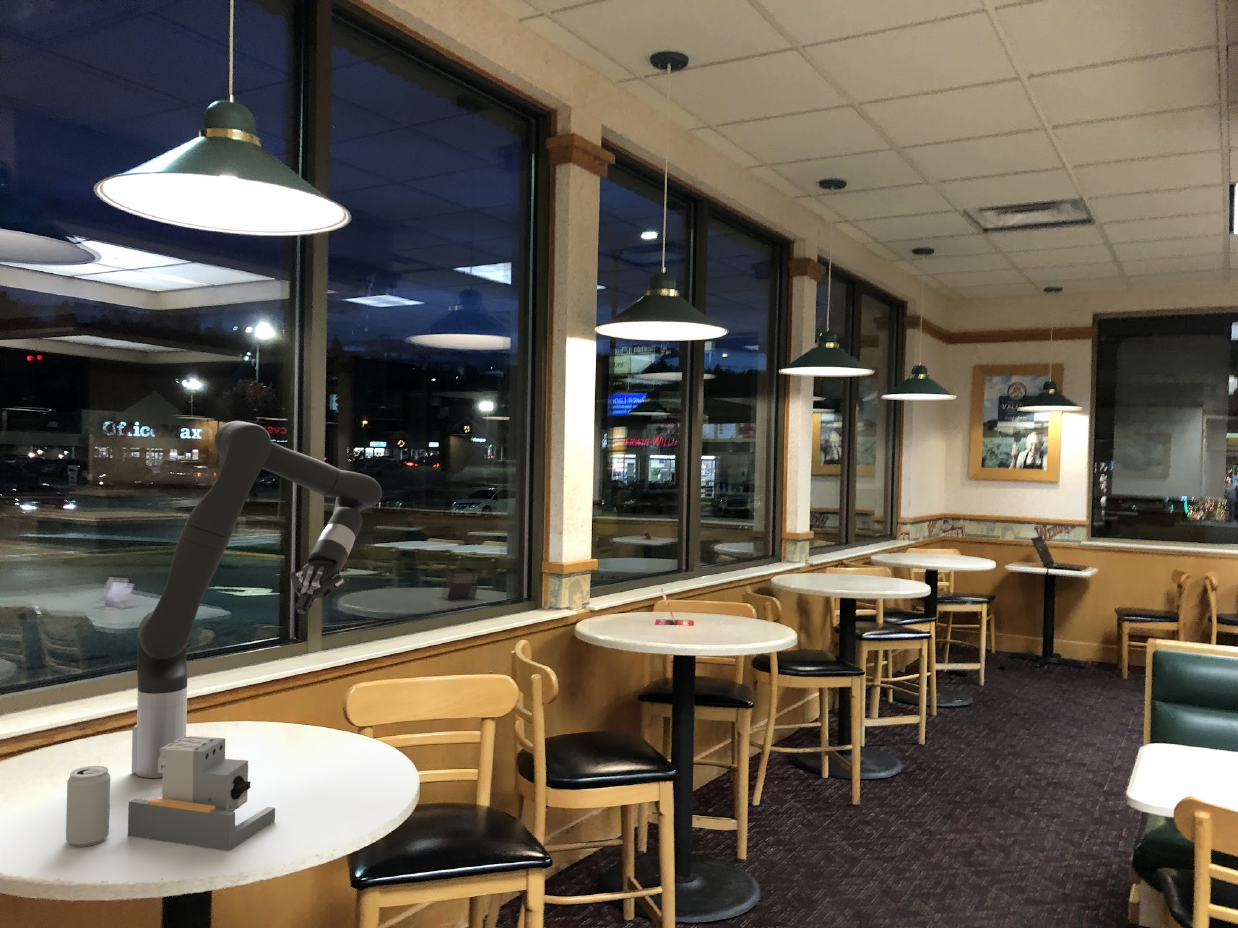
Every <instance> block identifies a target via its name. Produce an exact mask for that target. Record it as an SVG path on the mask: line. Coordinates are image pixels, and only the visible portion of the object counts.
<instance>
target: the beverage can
mask: <svg viewBox="0 0 1238 928" xmlns="http://www.w3.org/2000/svg"><path fill="white" fill-rule="evenodd" d="M69 776H70V777H69V778H68V779H67V780H66V783H67V784H66V813H65V814H66V815H65V816H66V819H65V820H66V822H65V823H66V825H65V841H66V843H67V844H70V845H71V846H73V847H82V848H83V847H84V848H85V847H90V845H91V846H95V845H98V844H99V843H101V842H104V841H105V838H107V837H108V836H109V834H110V805H111V804H110V802H111V801H110V798H111V775H110V773H109V768H108V767H106V766H103V765H89V766H83V767H78V768H76V769H74V770H72V771H71V772H70V773H69Z"/></svg>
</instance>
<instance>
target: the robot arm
mask: <svg viewBox="0 0 1238 928" xmlns="http://www.w3.org/2000/svg"><path fill="white" fill-rule="evenodd" d="M213 441H214V443H213V444H214V447H215V450H216V451H217V454H218V455H220V457H221V458H222V459H224V461H223V464H222V466H221V469H220V472H219V474H218V476H217V479H216V480H215V482H214V483H213V485H212V486H211V488H210V489H209V490H208V492H206V494H205V495H204V496H203V497H202V499H201V500H199V502H198V503H197V504H196V505H195V506H194V508H193V510H192V511H191V512H190V513H189V515H188V517H187V519H186V521H185V524H184V526H183V528H182V531H181V533H180V535H179V538H178V540H177V543H176V546H175V550H174V553H173V556H172V560H171V564H170V568H169V569H170V570H169V573H168V577H167V581H166V582H167V583H166V585H165V588H164V590H163V593H162V594H161V597H160V599H159V601H158V602H157V605H156V607H155V609H154V610H152V611H150V612H149V613H147V614H146V615H145V616H144V617H143V618H142V619H141V621H140V623H139V625H138V629H137V660H136V661H137V664H136V665H137V667H136V668H137V669H136V672H137V673H136V674H137V675H136V676H137V707H136V708H137V710H136V711H137V716H136V724H135V725H133V727H132V734H131V736H132V738H131V740H132V741H131V773H132V774H135V775H137V776H139V777H141V778H148V779H156V778H157V779H158V778H163V773H158V758H159V757H160V752H161V751H159V750H160V748H162V747H164V746H166V745H168V744H170V743H173V741H175V740H177V739H179V738H181V737H183V736H185V737H187V721H188V720H187V717H188V715H187V714H188V713H187V710H188V667H187V666H188V663H187V645H188V643H189V640H190V637H191V634H192V631H193V627H194V623H195V620H196V616H197V615H198V614H197V613H198V611H199V607H200V605H201V601H202V599H203V598H204V597H203V596H204V595H205V593H206V590H207V588H208V586H209V584H210V583H211V581H212V579H213V576H214V575H215V573H216V571H217V569H218V567H219V564H220V562H221V560H222V558H223V556H224V554H225V551H226V549H227V547H228V545H229V542H230V541H231V537H232V535H233V533H234V529H235V527H236V525H237V521H238V519H239V517H240V515H241V512H242V510H243V508H244V505H245V503H246V500H247V498H248V494H249V493H250V492H251V489H252V487H253V485H254V483H255V482H256V479H257V478H258V476H259V474H260V473H261V471H262V470H265V471H267V472H270V473H273V474H275V475H277V476H280V477H281V478H284V479H286V480H289V481H290V482H292V483H294V484H295V485H299V486H300V487H303V488H305V489H308V490H310V491H312V492H314V493H317V494H319V495H321V496H324V497H325V498H335V502H334V506H333V514H332V515H331V517H330V518H329V520H328V522H327V524H326V527H325V528H324V529H323V531H322V532H321V534H320V535H319V537H318V539H317V541H316V543H315V545H314V546H313V549H312V550H311V552H310V555H309V556H308V560H307V563H306V564H305V565H304V566H303V567H302V570H300V571H298V572H296V571H292V572H290V573H289V576H290V579H291V583H292V585H293V588H294V591H295V592H296V594H297V596H298V599H297V601H296V603H295V610H296V611H297V613H298V614H302V615H305V614H307V613H308V612H310V610H311V608H312V606H313V604H314V602H315V601H316V600H318V599H321V600H323V599H325V598H327V597H329V596H330V595H332V594H333V593H334V592H336V591H337V590H339V589H340V588H341V587H343V586H344V585H345V584H346V583H345V580H344V578H343V577H342V575H341V574H340V572H341V571H342V569H343V567H344V565H345V564H346V561H347V559H348V557H349V555H350V554H351V553H350V552H351V551H352V549H353V546H354V542H355V540H356V539H357V536H358V535H359V532H360V530H361V527H362V525H363V521H364V519H363V516H362V515H361V512H362V511H363V510H366V509H369V508H371V507H373V506H375V505H376V504H378V503H379V502H380V501H381V499H382V497H383V489H382V487H381V485H380V484H379V482H378V481H377V480H376V479H375V478H374V477H371V476H369V475H366V474H363V473H358V472H354V471H350V470H349V471H348V470H343V469H340V468H338V467H336V466H333V465H331V464H330V463H326V462H324V461H322V460H319V459H317V458H315V457H311V456H309V455H306V454H304V453H300V452H298V451H296V450H292V449H290V448H287V447H286V446H285V447H284V446H282V445H280V444H278V443H276V442H273V441H272V439H271V436H270V434H269V431H268V430H266V428H264V427H263V426H262V425H258V424H256V423H252V422H248V421H247V422H246V421H243V420H242V421H241V420H233V421H230V422H229V421H228V422H227V423H223V425H221V426H220V427H218V430H217V431H216V433H215V435H214V440H213ZM303 579H304V580H303ZM302 584H303V585H302ZM164 767H165V765H162V766H161V769H162V768H164Z"/></svg>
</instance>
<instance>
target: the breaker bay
mask: <svg viewBox="0 0 1238 928" xmlns="http://www.w3.org/2000/svg"><path fill="white" fill-rule="evenodd" d="M127 808H128V810H127V812H128V813H127V817H128V818H127V819H128V820H127V821H128V822H127V837H132V838H139V839H143V840H144V839H145V840H152V841H159V842H165V843H166V842H167V843H173V844H180V845H185V846H186V845H187V846H193V847H199V848H206V849H213V850H220V851H228V852H230V851H231V850H233V849H235V848H236V847H238V846H239V845H241V844H242V843H243V842H245V841H247V840H248V839H251V838H252V837H253V836H255V835H256V834H258V833H259V832H261V831H262V830H264V829H266V828H267V827H268V826H270V825H272V824H274V823H275V822H276V807H272V806H266V807H265V808H264V809H261V810H260V811H258V812H256V813H255V814H254V815H252V816H250V817H248V818H247V819H245V820H244V821H243V822H241V823H239V824H237V825H236V811H234V812H230V811H223V810H216V809H215V806H213V805H206V804H198V803H191V802H184V801H176V800H169V799H162V797H153V798H151V799H143V798H133V799H131V800H129V801H128V807H127ZM274 821H275V822H274ZM271 823H272V824H271Z"/></svg>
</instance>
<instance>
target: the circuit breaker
mask: <svg viewBox="0 0 1238 928" xmlns="http://www.w3.org/2000/svg"><path fill="white" fill-rule="evenodd" d="M159 751H161V752H160V757H159V758H158V773H163V777H162V788H161V789H162V792H161V799H169V800H176V801H184V802H191V803H198V804H206V805H213V806H215V809H216V810H223V811H230V812H236V810H238V809H239V808H241V807H242V806H243V805H245V803H247V802H248V790H249V789H251V783H252V781H249V760H244V759H231V758H226V738H225V737H224V738H223V737H212V736H211V737H210V736H192V735H189V736H186V737H185V736H183V737H181V738H179V739H177V740H175V741H173V743H170V744H168V745H166V746H164V747H162V748H160V750H159ZM162 765H165V767H164V768H162V769H161V766H162Z"/></svg>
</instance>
